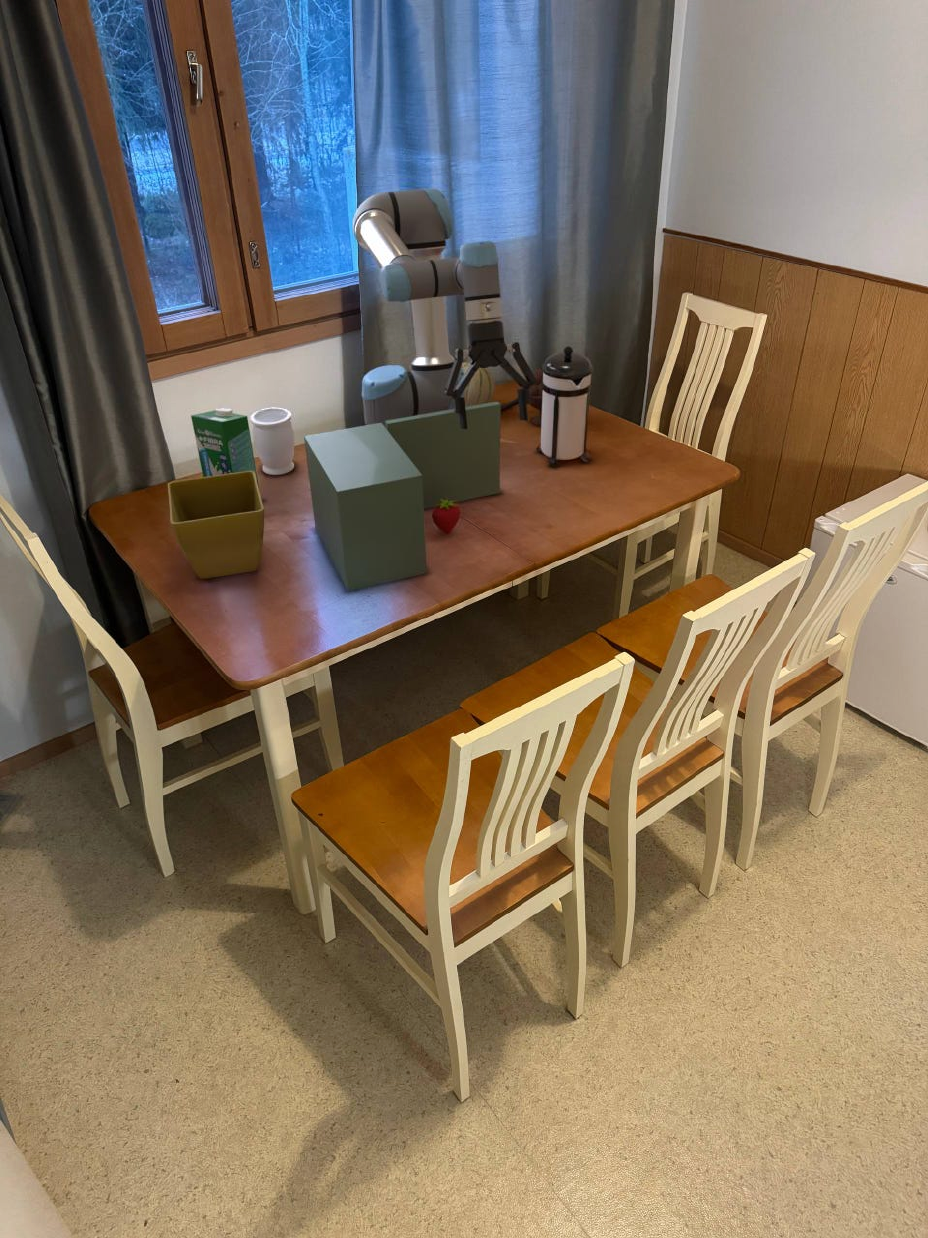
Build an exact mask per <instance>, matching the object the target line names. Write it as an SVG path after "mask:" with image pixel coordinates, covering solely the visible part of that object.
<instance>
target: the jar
mask: <svg viewBox="0 0 928 1238" xmlns="http://www.w3.org/2000/svg"><path fill="white" fill-rule="evenodd" d="M249 419H250V423H251V424H252V439H253V443H254V447H255V449H256V453H257V456H258V458H259V461H260V462H261V464H262V468H261V470H262V472H264V473H265V474H267V475H269V476H270V475H272V476H281V475H285V474H288V473H290V472H291V471H293V469H294V468H295V462H293V459H294V455H295V431H294V427H293V424H292V421H291V420H292V412H291V411H290V410H288V409H286V408H283V407H267V408H262V409H259V410H256V411H254V412H253V413H252V414H251V415H250V418H249Z"/></svg>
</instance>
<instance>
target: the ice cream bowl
mask: <svg viewBox="0 0 928 1238" xmlns="http://www.w3.org/2000/svg"><path fill="white" fill-rule="evenodd" d="M532 373H533V375H534V376H535V378H536V380H537V384H535V385H533V386H531V387H530V389H529V395H530V403H529V404H528V405H530V406H531V407H532V408H534V409H536V410H538V416H535V417H534V418H533V419H532V420H531V421H532V423H533V425H535V426H539V427H541V423H542V396H543V389H542V380H543V371H542V368H540V369H537V370H535V371H534V372H532Z"/></svg>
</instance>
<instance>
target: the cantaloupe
mask: <svg viewBox="0 0 928 1238" xmlns="http://www.w3.org/2000/svg"><path fill="white" fill-rule="evenodd" d="M471 362H472V361H470V362H468V361H467V362H465V361H464V362H463V363H462V369H463V372H464V374H465V372H466V371H467V369H468V367H469V365H470V363H471ZM495 386H496V385H495V381H494V377H493V375H492V373H491V372H490V371H489V370H488V368H480V367H479V369H478V370H477V371H476V372H475V374H474V376H473V377H472V379H471V380H470V382H469V384H468V385H467V387H466V388H465V393H464V399H465V407H468V406H474V405H480V404H485V403H491V402H493V399H494V396H495V391H496V387H495Z"/></svg>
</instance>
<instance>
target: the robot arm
mask: <svg viewBox="0 0 928 1238" xmlns="http://www.w3.org/2000/svg"><path fill="white" fill-rule="evenodd" d="M450 209H451V208H450V206H449V203H448V200H447V199H446V196H445V194H444V193H443V192H442V191H441V190H440V189H438V188H423V187H422V188H420V189H417V188H416V189H408V190H397V191H382V192H379V193H374V194H373V195H370V196H369V197H367V198H366V199H365V200H364V201H362V202H361V203H360V205H359V206H358V208H357V209H356V211H355V212H354V215H353V219H352V232H353V236H354V238H355V240H356V242H357V243H358V244H359V246H360V247H361V248H362V249H364V250H365V251H368V252H369V254H370V255H371V257H372V258H373V260H374V261H375V263H376V265H377V266H378V267H379V269H380V273H379V276H380V277H379V278H380V280H379V281H380V287H381V291H382V296H383V298H384V299H385V300H386V301H387V302H389V303H390V302H391V303H393V302H394V303H395V302H400V303H404V302H408V301H410V305H411V306H410V307H411V314H412V326H413V336H414V346H415V347H414V348H415V357H414V359H413V360H411V366H410V367H411V370H408V371H407V370H406V368H405V367H404V366H401V365H397V364H395V365H393V364H388V365H382V366H379V367H376V368H374V369H371V370H369V371H368V372H367V373H366V374H364V376H363V378H362V379H361V380H362V381H361V397H362V405H363V417H364V426H365V425H371V424H376V423H382V424H383V425H384V427H385V428H386V425H385V421H387V420H393V419H399V418H405V417H410V416H416V415H422V414H428V413H433V412H439V411H445V410H451V409H454V411H455V413H457V414H458V413H459V417H460V427H461V428H462V429H468V428H467V418H466V409H465V399H464V393H465V388H466V387H467V385H468V384H469V382H470V380H471V379H472V377H473V376H474V374H475V372H476V371H477V370H478V369H479V367H480V368H486V369H488V368H490V367H491V368H496V367H498V366H499V367H501V368H502V369H503V371H504V372H506V373H507V375H509V377H510V378H512V380H513V381H514V382H515V383H516V384H517V385H518V386H519V387H520V388H518V389H517V398H515V399H513V400H511V401H509V402H508V403H505V404H503V405H502V406H501V411H503V410H506V409H507V408H510V407H511V406H513V405H515V404H517V403H518V412H519V420H520V421H524V422H526V421H528V411H527V410H528V409H527V408H528V407H527V405H530V404H529V403H530V395H529V389H530V387H531V386H533V385H535V384H537V380H536V378H535V376H534V375H533V373H534V372H533V371H532V370H531V367H530V366H529V364H528V362H527V360H526V359H525V356H524V355H523V353H522V350H521V346H520V343H519V342H518V341H512V342H511V343H507V344H506V341H505V331H504V322H503V321H502V320H501V319H502V318H503V310H502V309H503V308H502V300H501V286H500V285H501V284H500V274H499V257H498V253H497V252H498V251H497V246H496V244H495V242H493V241H491V240H485V241H484V240H483V241H473V242H468V243H463V244H462V245H461V246H460V248H459V257H448V258H442V254H443V252H444V250H446V248H447V240H449V239H450V238H452V236H453V220H452V212H451V210H450ZM452 296H464V297H463V298H464V308H465V320H466V321H467V322H469V324H467V326H466V329H467V340H468V349H462V348H456V349H455V350H454V356H453V355H451V353H450V348H449V347H450V346H449V335H448V334H449V333H448V324H447V313H446V312H447V311H446V299H445V297H452ZM507 351H508V352H509V354H512V357H513V359H514V360H515V363H516V364H517V366H518V367H519V369H520V371H521V373H522V374H520V373H519V371H517V370H516V369H515V367H514V366H512V365H511V363H510V362H509V360H508V359H506V357H505V355H506V353H507ZM467 356H468V358H470V359H471V361H470V362H471V363H470V365H469V367H468V369H467V371H466V372H465V374H464V372H463V369H462V363H464V360H466V358H467ZM522 375H523V376H524V377H523V376H522Z"/></svg>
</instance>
